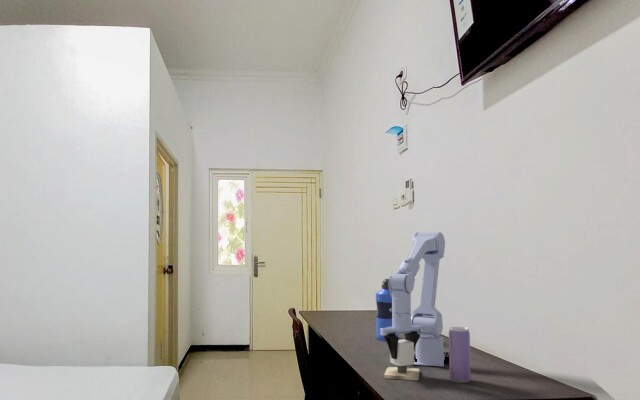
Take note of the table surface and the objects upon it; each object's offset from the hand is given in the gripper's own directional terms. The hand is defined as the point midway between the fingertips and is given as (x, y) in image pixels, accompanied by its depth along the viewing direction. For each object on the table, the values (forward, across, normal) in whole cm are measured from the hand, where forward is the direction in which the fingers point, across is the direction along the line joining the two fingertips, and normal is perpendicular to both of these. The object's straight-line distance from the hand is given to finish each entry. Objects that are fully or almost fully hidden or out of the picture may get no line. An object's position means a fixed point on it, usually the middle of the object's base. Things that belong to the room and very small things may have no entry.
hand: (402, 357), depth 153 cm
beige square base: (+5, 0, 0) cm, 5 cm away
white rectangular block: (+2, 0, 0) cm, 2 cm away
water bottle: (+5, -26, -50) cm, 57 cm away
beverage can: (+5, -12, +12) cm, 18 cm away
